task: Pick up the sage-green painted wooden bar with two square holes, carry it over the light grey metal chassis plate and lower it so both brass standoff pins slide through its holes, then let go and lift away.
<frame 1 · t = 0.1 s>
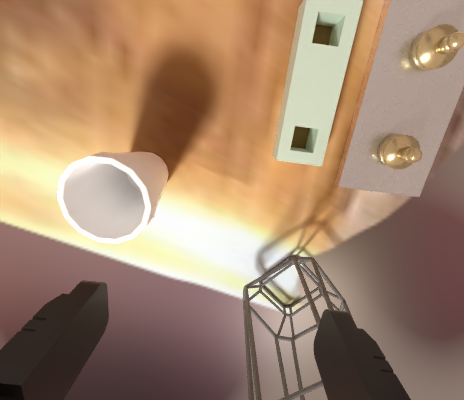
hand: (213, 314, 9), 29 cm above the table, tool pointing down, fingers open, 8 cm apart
chassis: (401, 104, 34), on the table
bar: (306, 90, 33), on the table
geometric lantern: (284, 279, 44), on the table
foam cup: (148, 172, 38), on the table
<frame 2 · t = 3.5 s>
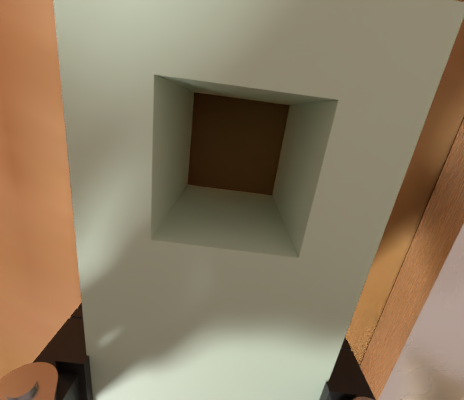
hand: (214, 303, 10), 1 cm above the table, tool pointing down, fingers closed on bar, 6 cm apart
bar: (216, 293, 10), on the table, touching gripper
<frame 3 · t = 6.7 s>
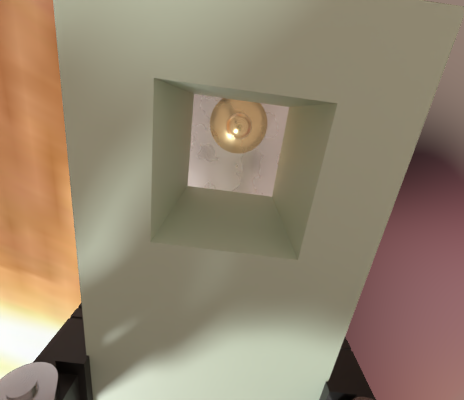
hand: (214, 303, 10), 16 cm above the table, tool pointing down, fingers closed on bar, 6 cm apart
chassis: (230, 186, 24), on the table
bar: (216, 294, 10), point 15 cm above the table, touching gripper
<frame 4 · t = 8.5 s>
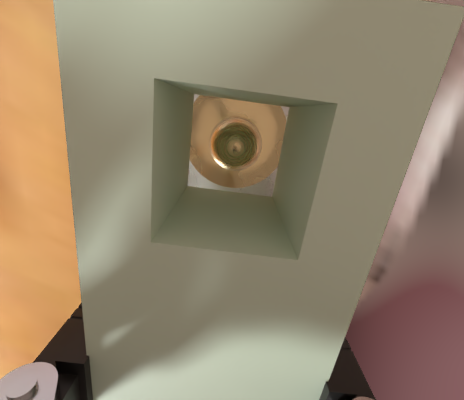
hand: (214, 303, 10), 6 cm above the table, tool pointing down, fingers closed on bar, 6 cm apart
chassis: (223, 228, 16), on the table
bar: (216, 294, 10), point 6 cm above the table, touching gripper
when the fingers open (5 cm above the table, at t = 10.1 s): bar stays where it is, resting on chassis.
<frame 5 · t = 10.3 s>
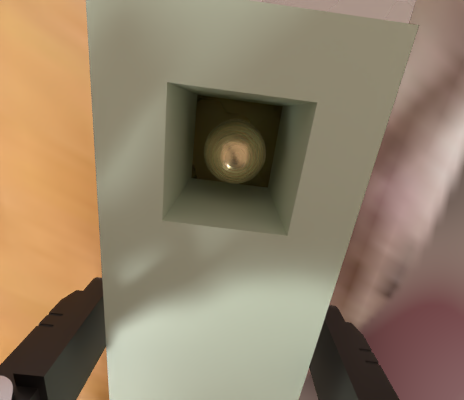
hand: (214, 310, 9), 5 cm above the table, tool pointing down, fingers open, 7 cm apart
chassis: (222, 240, 15), on the table
bar: (217, 278, 11), point 3 cm above the table, touching chassis
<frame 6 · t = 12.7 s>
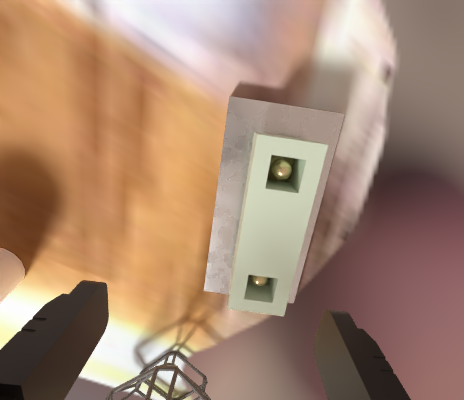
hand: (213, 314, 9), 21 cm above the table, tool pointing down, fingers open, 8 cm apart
chassis: (264, 208, 31), on the table
bar: (267, 219, 27), point 3 cm above the table, touching chassis
geometric lantern: (168, 373, 40), on the table
foam cup: (3, 266, 35), on the table
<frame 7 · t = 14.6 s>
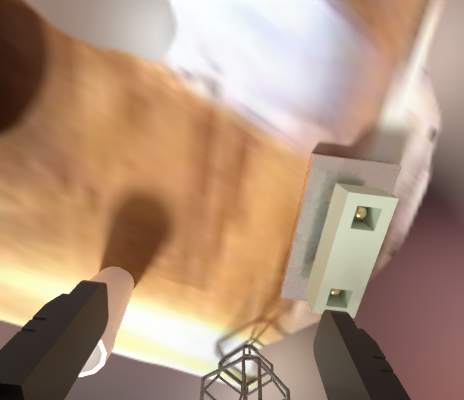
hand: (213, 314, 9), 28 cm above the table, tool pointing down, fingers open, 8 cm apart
chassis: (331, 234, 39), on the table
bar: (339, 245, 36), point 3 cm above the table, touching chassis
geometric lantern: (241, 362, 49), on the table
foam cup: (116, 281, 43), on the table
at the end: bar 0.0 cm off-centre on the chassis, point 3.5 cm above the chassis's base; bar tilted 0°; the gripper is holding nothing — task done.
